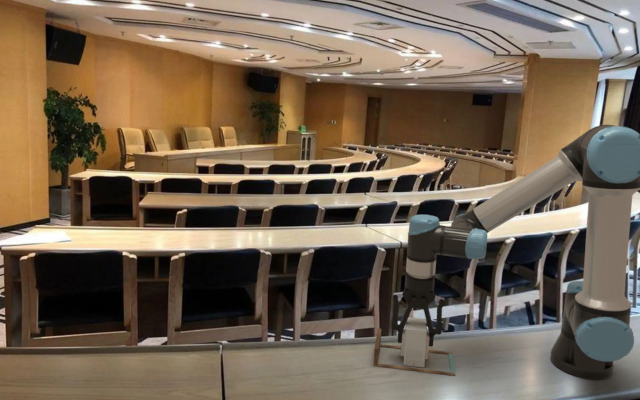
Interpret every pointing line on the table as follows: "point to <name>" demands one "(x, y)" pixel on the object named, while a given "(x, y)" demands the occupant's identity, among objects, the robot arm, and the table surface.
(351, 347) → the table surface
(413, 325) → the small box
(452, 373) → the bay
